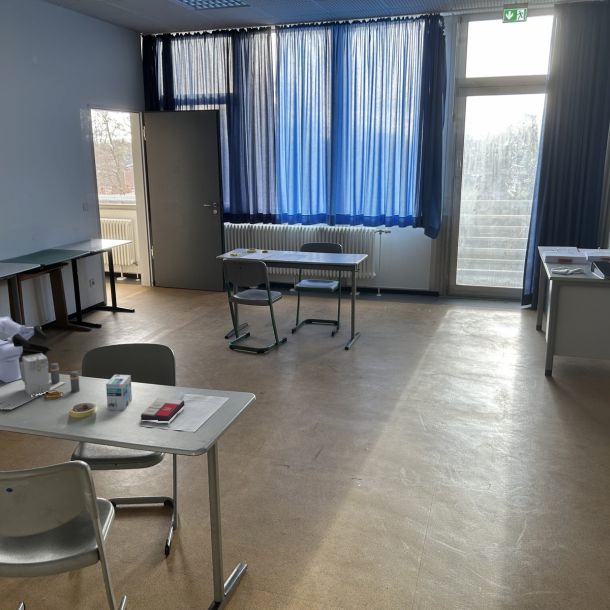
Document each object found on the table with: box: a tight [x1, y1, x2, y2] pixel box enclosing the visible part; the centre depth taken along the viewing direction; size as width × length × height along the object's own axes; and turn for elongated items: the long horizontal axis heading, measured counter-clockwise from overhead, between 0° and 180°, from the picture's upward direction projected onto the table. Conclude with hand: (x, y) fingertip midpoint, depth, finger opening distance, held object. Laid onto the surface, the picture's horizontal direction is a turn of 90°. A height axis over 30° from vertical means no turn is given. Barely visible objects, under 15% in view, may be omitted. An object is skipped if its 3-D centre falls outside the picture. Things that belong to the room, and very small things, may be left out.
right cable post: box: [69, 370, 80, 393], centre depth 248 cm, size 3×3×8 cm
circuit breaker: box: [19, 352, 51, 396], centre depth 247 cm, size 8×14×15 cm, turn 40°
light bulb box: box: [105, 374, 133, 411], centre depth 234 cm, size 11×7×11 cm, turn 0°
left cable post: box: [49, 362, 61, 384], centre depth 256 cm, size 3×3×8 cm
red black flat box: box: [140, 397, 185, 421], centre depth 227 cm, size 11×4×15 cm
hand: (37, 341), depth 246 cm, fingers open, 7 cm apart
